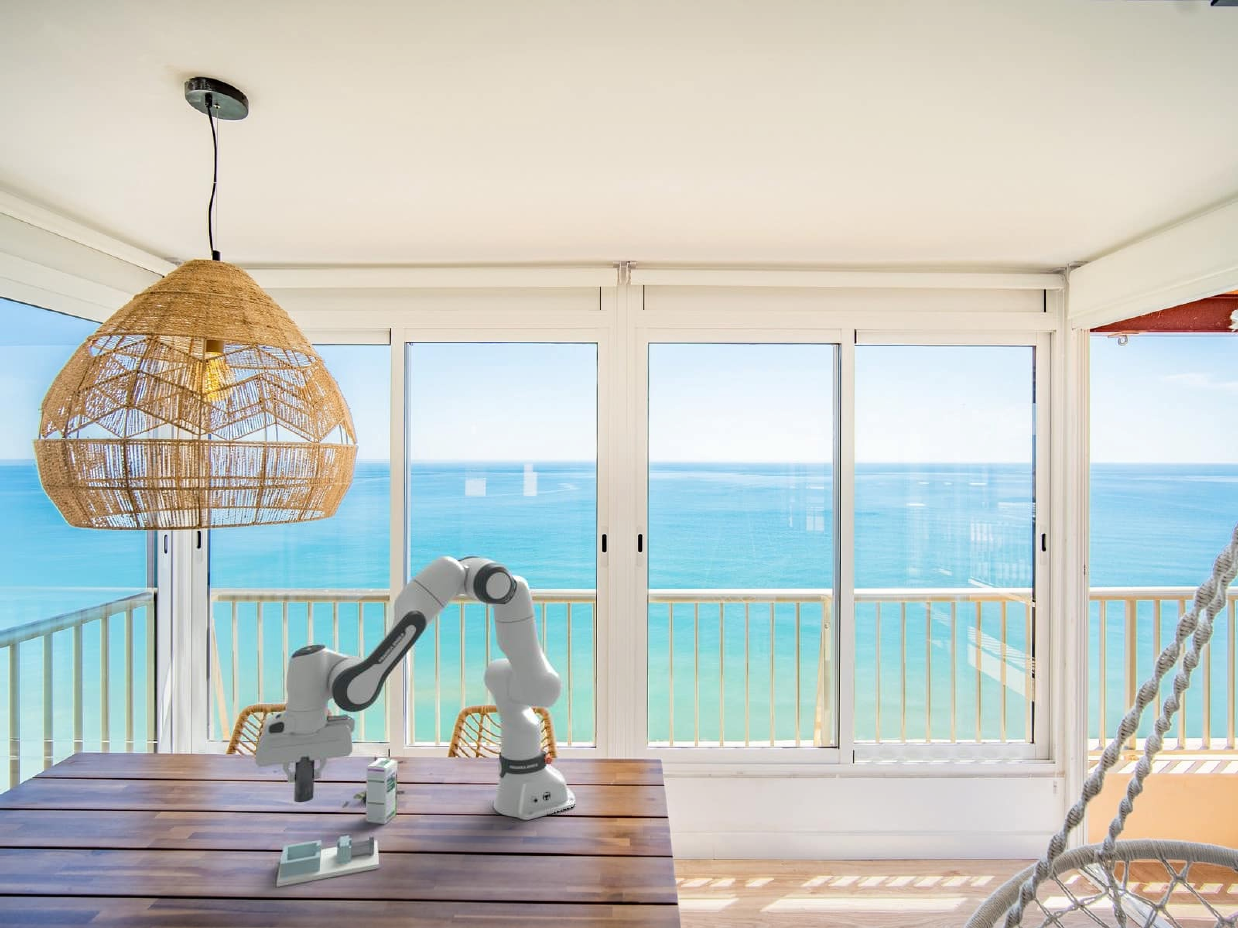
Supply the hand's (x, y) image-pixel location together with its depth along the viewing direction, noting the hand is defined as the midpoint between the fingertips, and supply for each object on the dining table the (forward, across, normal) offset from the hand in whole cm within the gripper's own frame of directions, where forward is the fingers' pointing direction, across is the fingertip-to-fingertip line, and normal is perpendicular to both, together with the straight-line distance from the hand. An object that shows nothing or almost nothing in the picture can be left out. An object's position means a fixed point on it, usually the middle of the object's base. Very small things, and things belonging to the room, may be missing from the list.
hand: (304, 779), depth 154 cm
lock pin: (+19, -11, 0) cm, 22 cm away
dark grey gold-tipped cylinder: (+4, 0, 0) cm, 4 cm away
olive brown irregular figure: (+21, -17, -31) cm, 41 cm away
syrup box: (+20, -18, -19) cm, 33 cm away
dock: (+20, -5, 0) cm, 21 cm away
